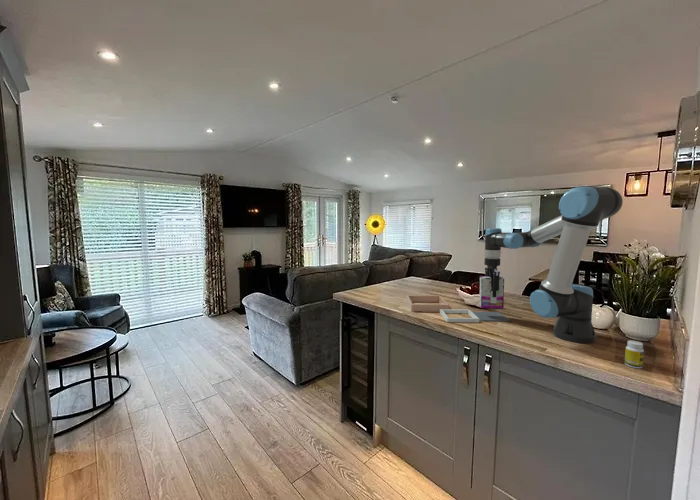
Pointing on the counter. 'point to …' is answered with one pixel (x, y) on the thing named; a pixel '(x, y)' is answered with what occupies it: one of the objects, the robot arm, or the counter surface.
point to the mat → (491, 316)
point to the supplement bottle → (634, 354)
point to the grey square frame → (463, 311)
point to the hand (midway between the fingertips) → (491, 301)
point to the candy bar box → (486, 293)
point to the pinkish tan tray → (427, 307)
